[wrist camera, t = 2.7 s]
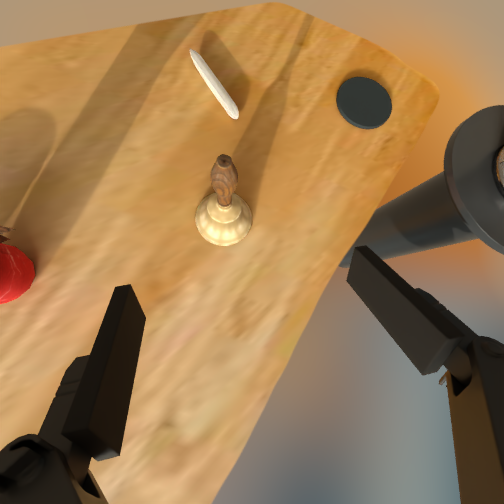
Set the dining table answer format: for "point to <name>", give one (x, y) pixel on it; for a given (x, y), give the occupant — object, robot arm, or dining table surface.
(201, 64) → the pen
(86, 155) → the dining table surface
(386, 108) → the corner coaster
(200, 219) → the hand bell
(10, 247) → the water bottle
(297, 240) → the dining table surface
